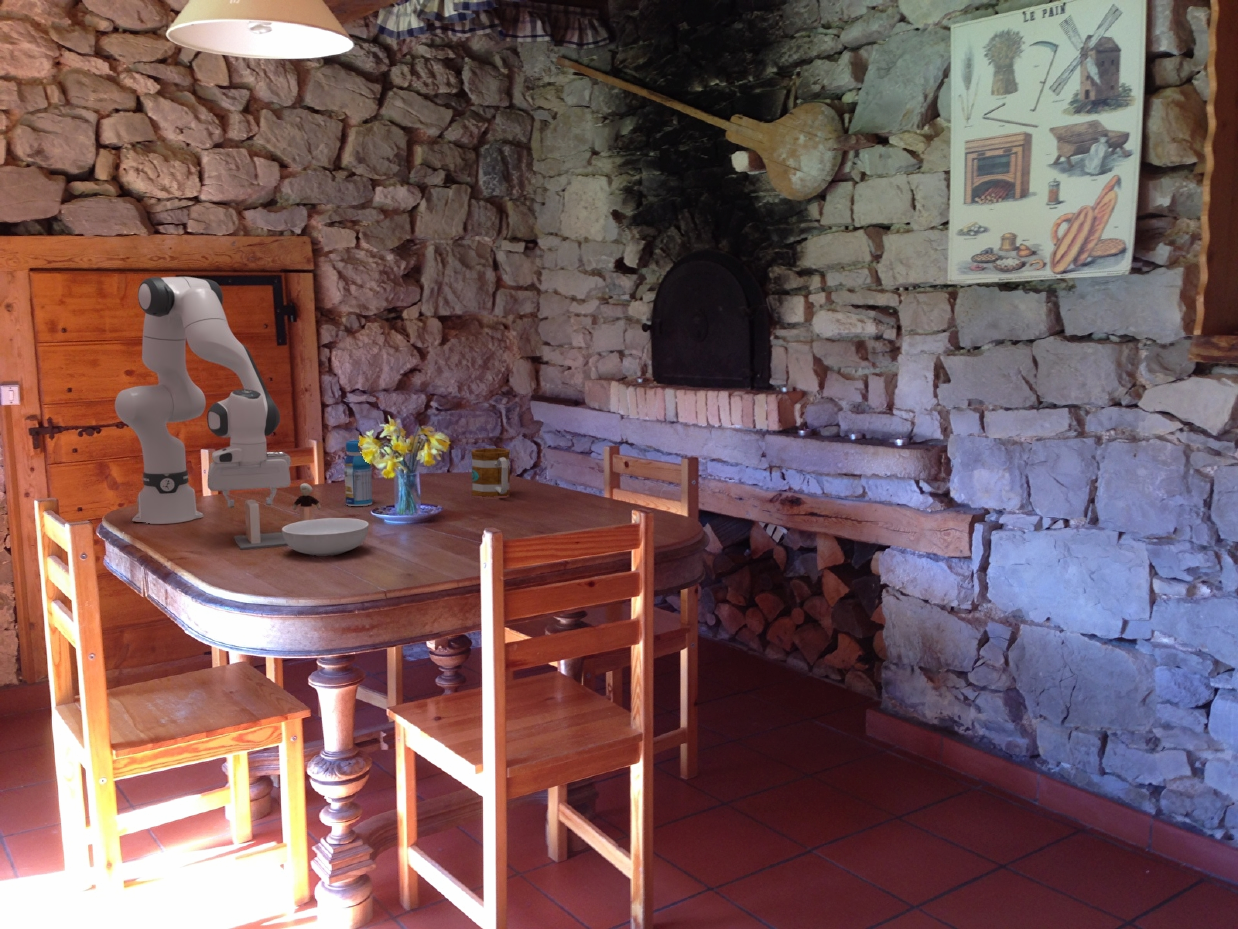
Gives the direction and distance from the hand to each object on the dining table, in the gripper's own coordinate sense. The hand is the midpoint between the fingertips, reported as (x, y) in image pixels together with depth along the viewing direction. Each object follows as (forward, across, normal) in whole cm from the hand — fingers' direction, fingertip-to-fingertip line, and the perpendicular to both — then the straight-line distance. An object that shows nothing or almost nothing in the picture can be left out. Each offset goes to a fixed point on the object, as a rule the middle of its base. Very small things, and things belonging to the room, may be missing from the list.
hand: (250, 505), depth 269 cm
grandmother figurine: (+10, -16, -12) cm, 23 cm away
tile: (+9, 0, +1) cm, 9 cm away
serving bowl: (+9, -16, +20) cm, 27 cm away
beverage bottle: (+10, -37, -42) cm, 57 cm away
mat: (+10, -4, +1) cm, 11 cm away
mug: (+10, -80, -38) cm, 89 cm away
